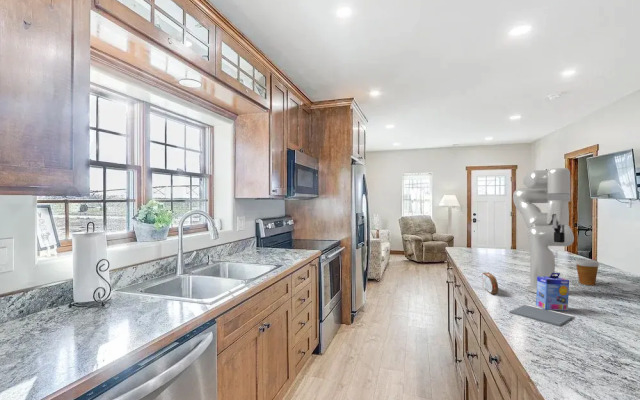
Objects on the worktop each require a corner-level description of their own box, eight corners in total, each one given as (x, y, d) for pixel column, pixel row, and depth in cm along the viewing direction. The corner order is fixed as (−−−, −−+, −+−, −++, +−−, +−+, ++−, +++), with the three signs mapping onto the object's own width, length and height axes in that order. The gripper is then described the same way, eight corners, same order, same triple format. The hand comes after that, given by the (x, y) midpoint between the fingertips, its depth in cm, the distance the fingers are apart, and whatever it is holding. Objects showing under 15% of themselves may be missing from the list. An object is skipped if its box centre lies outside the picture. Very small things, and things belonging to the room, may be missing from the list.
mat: (525, 305, 128) (525, 304, 128) (573, 317, 115) (573, 315, 115) (509, 312, 120) (509, 311, 120) (559, 326, 107) (559, 324, 107)
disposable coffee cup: (571, 281, 167) (570, 259, 167) (590, 281, 165) (590, 259, 165) (583, 286, 157) (583, 262, 157) (604, 286, 156) (604, 262, 156)
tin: (498, 296, 141) (498, 278, 141) (491, 296, 142) (491, 277, 142) (487, 287, 156) (487, 270, 156) (481, 287, 156) (481, 270, 156)
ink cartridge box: (546, 310, 120) (546, 272, 121) (535, 305, 126) (535, 270, 127) (569, 310, 121) (570, 273, 122) (557, 306, 127) (558, 271, 127)
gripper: (554, 198, 136) (555, 240, 136) (541, 198, 127) (541, 242, 127) (576, 198, 130) (576, 241, 129) (563, 197, 121) (563, 244, 121)
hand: (559, 242), depth 128 cm, fingers closed
